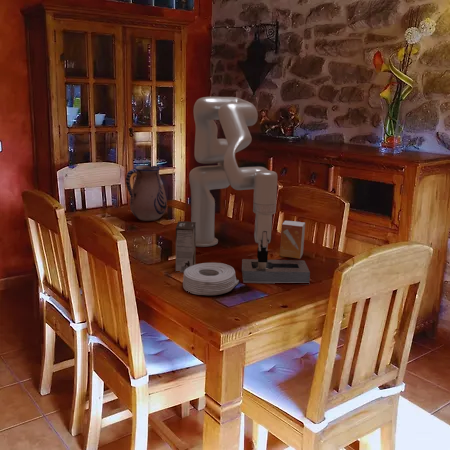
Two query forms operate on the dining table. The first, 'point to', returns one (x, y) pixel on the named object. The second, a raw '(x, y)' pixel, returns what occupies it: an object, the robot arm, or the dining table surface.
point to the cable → (209, 279)
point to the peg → (261, 263)
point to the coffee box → (185, 245)
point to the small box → (292, 239)
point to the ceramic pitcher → (146, 193)
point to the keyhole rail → (275, 271)
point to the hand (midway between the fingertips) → (262, 259)
